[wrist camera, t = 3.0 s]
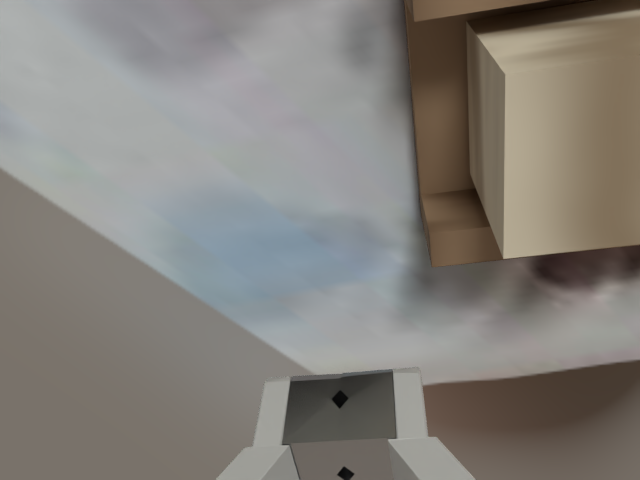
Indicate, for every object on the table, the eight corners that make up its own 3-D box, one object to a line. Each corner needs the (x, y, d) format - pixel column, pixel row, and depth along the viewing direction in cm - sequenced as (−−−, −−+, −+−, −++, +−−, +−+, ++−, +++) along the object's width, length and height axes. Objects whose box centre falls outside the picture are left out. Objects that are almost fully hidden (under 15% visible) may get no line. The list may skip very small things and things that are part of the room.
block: (469, 173, 23) (503, 258, 18) (466, 20, 20) (505, 74, 15) (625, 153, 23) (703, 237, 18) (646, -8, 19) (750, 38, 14)
